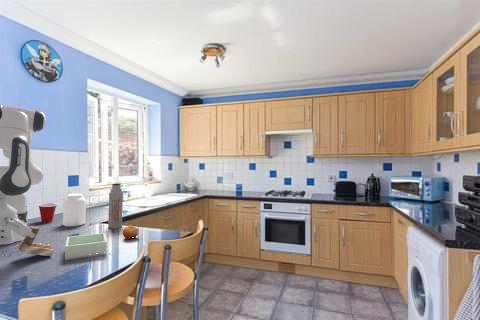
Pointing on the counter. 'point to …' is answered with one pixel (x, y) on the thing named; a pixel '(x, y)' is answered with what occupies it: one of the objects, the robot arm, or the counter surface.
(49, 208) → the plastic cup
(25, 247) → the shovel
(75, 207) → the white jar
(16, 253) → the counter surface
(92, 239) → the bin
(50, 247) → the pebble
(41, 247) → the pebble
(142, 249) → the counter surface
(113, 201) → the thermos bottle
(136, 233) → the fruit
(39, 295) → the counter surface
